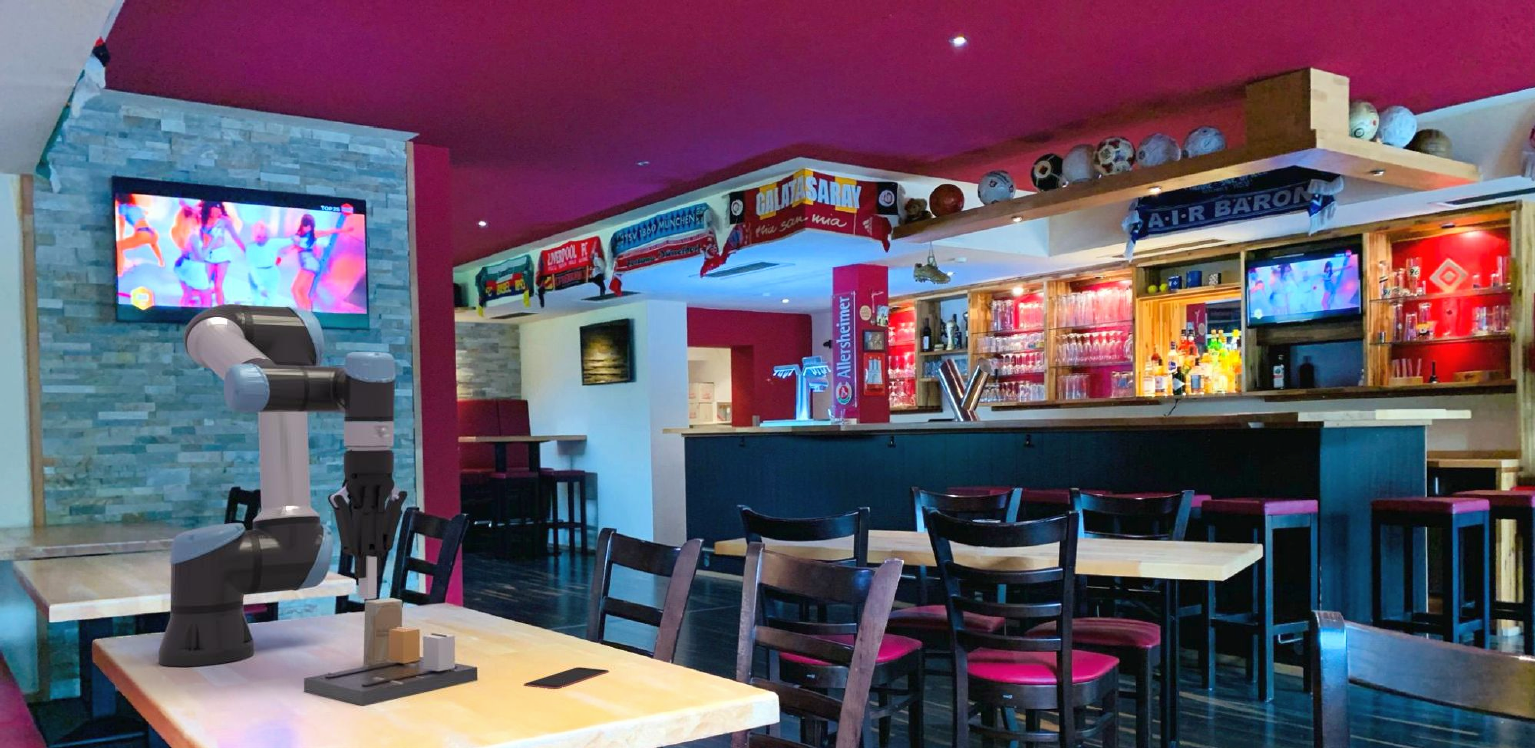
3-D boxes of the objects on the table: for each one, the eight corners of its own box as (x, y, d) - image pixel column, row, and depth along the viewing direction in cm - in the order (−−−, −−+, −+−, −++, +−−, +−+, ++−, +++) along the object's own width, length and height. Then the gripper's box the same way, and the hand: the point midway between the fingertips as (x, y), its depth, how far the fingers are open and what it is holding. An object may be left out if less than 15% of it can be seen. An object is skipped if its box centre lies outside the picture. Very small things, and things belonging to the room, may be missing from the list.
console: (302, 691, 168) (302, 676, 169) (416, 668, 184) (416, 654, 184) (364, 705, 158) (364, 690, 158) (478, 680, 174) (478, 666, 174)
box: (372, 669, 183) (372, 602, 184) (362, 666, 187) (362, 600, 187) (403, 665, 187) (403, 599, 187) (392, 661, 190) (393, 596, 191)
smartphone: (611, 670, 179) (557, 688, 167) (611, 673, 179) (557, 691, 167) (577, 666, 182) (520, 683, 170) (577, 670, 182) (520, 687, 170)
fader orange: (388, 660, 179) (388, 628, 179) (405, 657, 181) (405, 625, 181) (403, 663, 176) (403, 630, 176) (419, 660, 179) (419, 627, 179)
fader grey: (423, 668, 172) (423, 634, 172) (439, 664, 175) (439, 631, 175) (438, 671, 170) (438, 637, 170) (454, 667, 172) (454, 634, 172)
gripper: (344, 450, 168) (342, 605, 167) (418, 448, 178) (416, 594, 177) (318, 449, 173) (316, 600, 172) (391, 447, 183) (390, 590, 182)
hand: (367, 597), depth 175 cm, fingers closed
